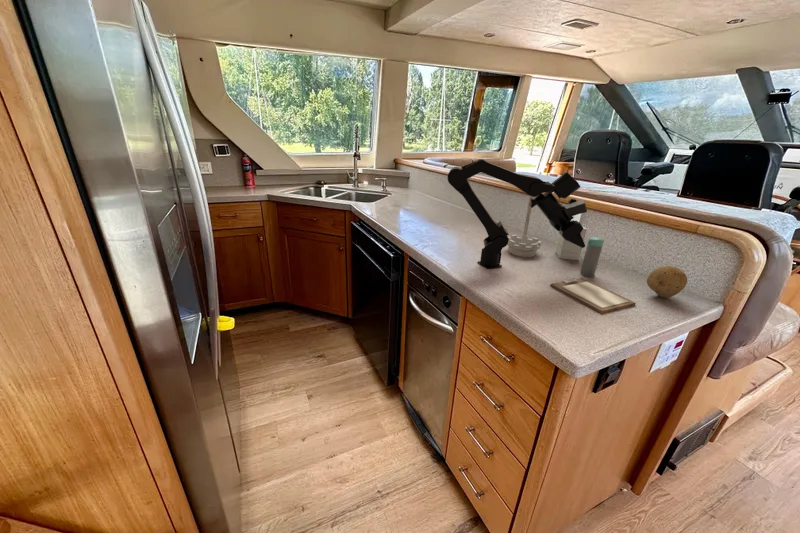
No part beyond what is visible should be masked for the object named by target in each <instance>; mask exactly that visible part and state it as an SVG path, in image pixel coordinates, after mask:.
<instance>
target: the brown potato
mask: <svg viewBox="0 0 800 533" xmlns="http://www.w3.org/2000/svg"><path fill="white" fill-rule="evenodd" d="M646 284H647V286H648V287H649V289H651V290H652V291H653V292H655V294H656V295H657V296H659V297H661V298H663V299H666V298H671V297H674V296H675V295H678V294H680V292H681V291H682V290H684V289H685V287H686V286H687V284H688V277H687V274H686V273H685V271H683V270H682V269H681V268H679V267H676V266H673V265H665V266H664V265H663V266H659V267H657V268H655V269H653V270H652V271H651V272H650V273H649V275H648V276H647V278H646Z"/></svg>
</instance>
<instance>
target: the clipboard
mask: <svg viewBox="0 0 800 533" xmlns="http://www.w3.org/2000/svg"><path fill="white" fill-rule="evenodd" d="M549 287H551V288H553V289H555V290H557V291H558V292H560V293H563V294H564V295H566V296H568V297H569V298H572V299H573V300H575V301H577V302H579V303H581V304H582V305H585V306H586V307H587V308H590V309H591V310H594V311H595V312H597V313H599V314H605V313H610V312H612V311H617V310H621V309H624V308H630V307H633V306H636V302H635V301H633V300H631V299H629V298H627V297H624V296H622V295H620V294H618V293H616V292H614V291H611V290H609V289H608V288H605V287H603V286H601V285H598V284H597V283H594V282H592V281H590V280H588V279H586V278H583V277H580V278H570V279H565V280H562V281H559V282H558V281H557V282H552V283H550V285H549Z"/></svg>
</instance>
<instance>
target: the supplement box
mask: <svg viewBox="0 0 800 533" xmlns="http://www.w3.org/2000/svg"><path fill="white" fill-rule="evenodd" d="M587 231H588V229H587V227H585V226H583V230H582V231H581V236H582V239H583V241H584V242H585V238H586V234H587ZM582 250H583V248H582V247H580V246H577V245H575V244H573V243H571V242H569V241H566V240H565V239H564V238H563V237H562V236H561V235H560V233H559V235H558V238H557V243H556V247H555V251H554V253H555V254H556V255H557V257H558V259H562V260H571V261H572V260H573V261H579V260H580V257H581V254H582Z"/></svg>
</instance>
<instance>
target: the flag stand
mask: <svg viewBox="0 0 800 533" xmlns="http://www.w3.org/2000/svg"><path fill="white" fill-rule="evenodd" d="M530 198H535V197H533V196H530V195H529V198H528V203H527V210H526V215H525V219H524V220H525V221H524V226H523V232H522V234H521V237H519V236H518V235H517V234H512V235H510V236H508V239H509V241H508V244H507V245H506V246H508V247H507V252H509V254H511V253H512V254H511V255H514V256H518V257H523V258H524V257H534V256H536V254H537V252H538V250H539V249H540V248H541V245H542V240H540V239H539V238H538V237H532V238H529V235H528V231H529V230H528V229H529V223H530V220H531V214H532V208H531V207H530V206H529V203H530Z"/></svg>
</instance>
